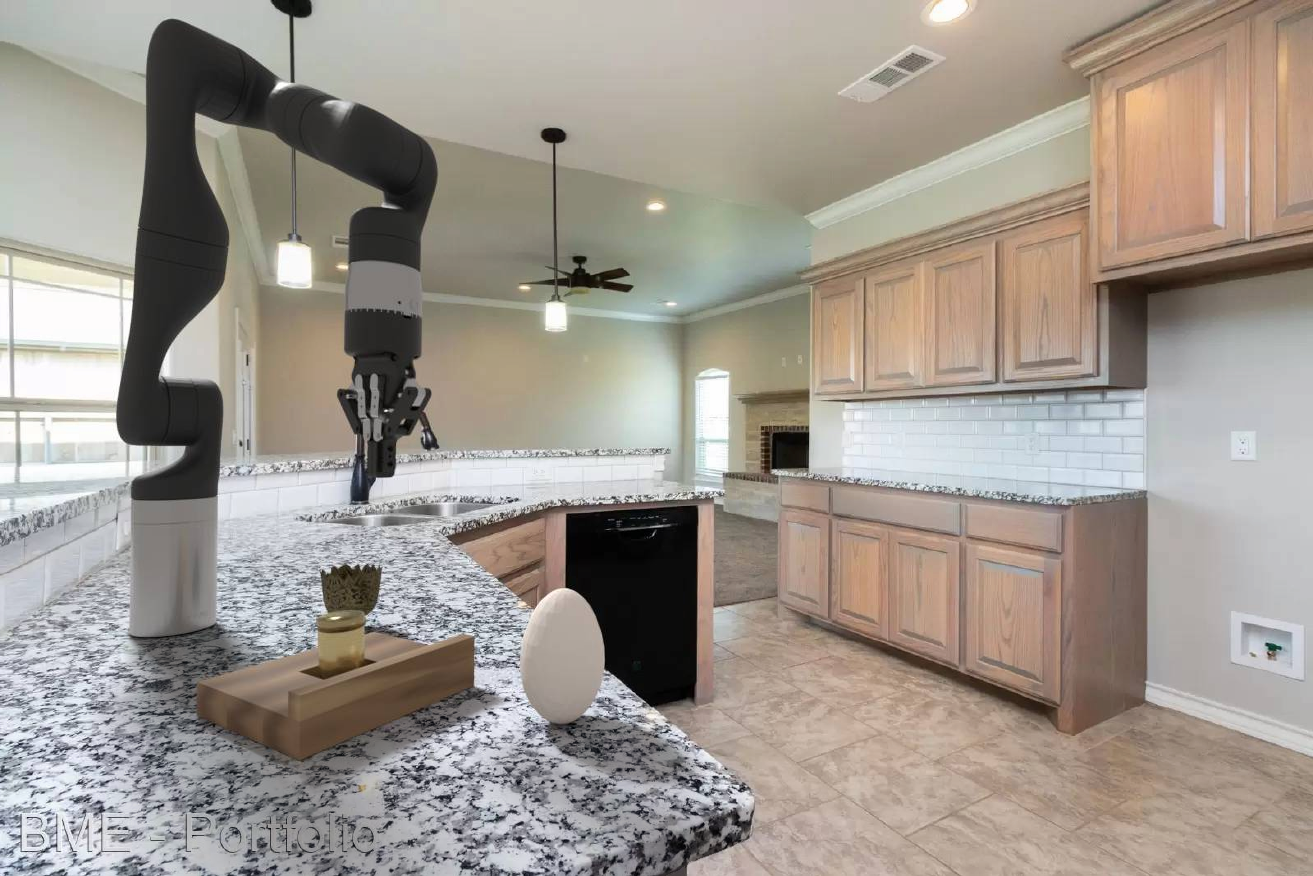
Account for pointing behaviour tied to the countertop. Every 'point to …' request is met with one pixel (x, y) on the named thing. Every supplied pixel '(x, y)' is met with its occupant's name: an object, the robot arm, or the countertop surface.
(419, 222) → the robot arm
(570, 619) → the egg
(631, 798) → the countertop surface
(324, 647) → the brass cylinder peg
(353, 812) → the countertop surface
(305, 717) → the jig
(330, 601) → the cup
